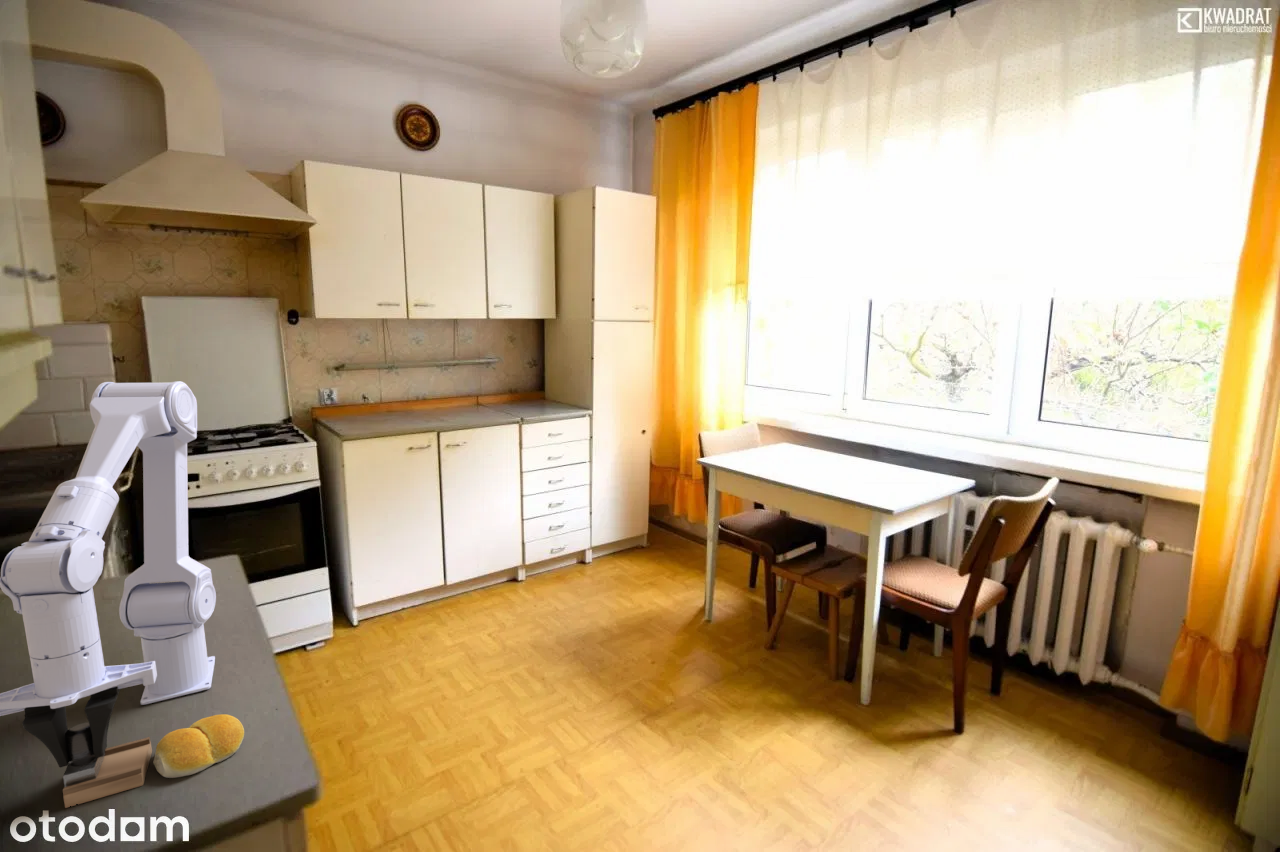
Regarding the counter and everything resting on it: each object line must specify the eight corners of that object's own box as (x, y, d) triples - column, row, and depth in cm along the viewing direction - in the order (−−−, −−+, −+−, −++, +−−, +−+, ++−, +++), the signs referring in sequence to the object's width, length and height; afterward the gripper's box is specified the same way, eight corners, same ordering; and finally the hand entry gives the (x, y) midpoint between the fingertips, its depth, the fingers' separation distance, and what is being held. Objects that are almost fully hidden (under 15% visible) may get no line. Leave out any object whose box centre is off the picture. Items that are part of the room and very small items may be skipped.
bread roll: (256, 747, 77) (253, 718, 77) (171, 790, 70) (166, 759, 70) (228, 721, 82) (225, 694, 81) (145, 760, 75) (141, 730, 74)
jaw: (76, 762, 72) (69, 721, 71) (105, 754, 73) (99, 714, 72) (65, 788, 68) (57, 745, 67) (96, 779, 69) (89, 737, 68)
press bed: (80, 771, 73) (77, 755, 72) (152, 751, 76) (149, 736, 76) (65, 808, 67) (62, 790, 67) (143, 785, 71) (140, 768, 70)
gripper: (-44, 683, 61) (-20, 804, 63) (143, 645, 68) (158, 755, 70) (-16, 650, 67) (5, 762, 69) (153, 618, 74) (167, 721, 76)
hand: (83, 756), depth 70 cm, fingers closed on jaw, 2 cm apart
